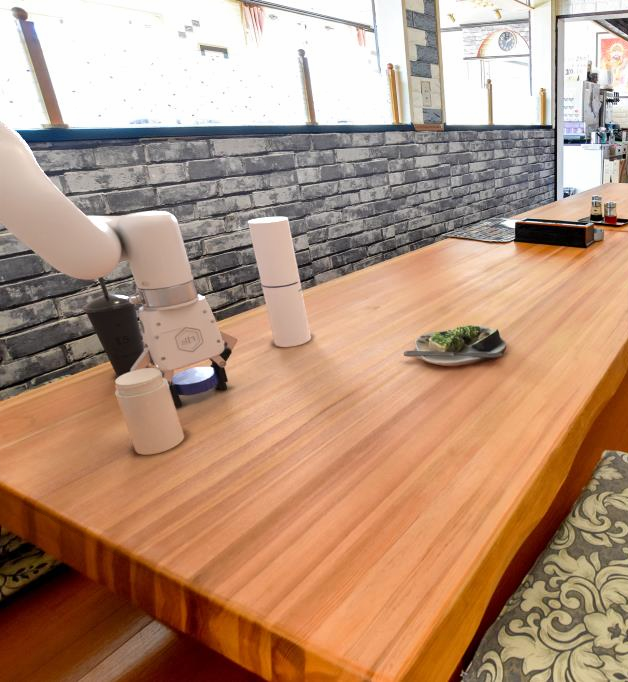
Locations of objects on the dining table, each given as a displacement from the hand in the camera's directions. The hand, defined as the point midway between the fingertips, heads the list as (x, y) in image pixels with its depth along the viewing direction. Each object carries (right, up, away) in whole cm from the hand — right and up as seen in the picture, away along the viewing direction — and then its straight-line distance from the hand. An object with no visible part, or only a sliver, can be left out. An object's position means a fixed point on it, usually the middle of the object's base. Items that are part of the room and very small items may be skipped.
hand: (199, 395), depth 89 cm
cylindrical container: (+7, +9, +22) cm, 25 cm away
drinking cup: (-18, +3, +10) cm, 21 cm away
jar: (+2, -5, -13) cm, 14 cm away
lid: (0, +3, -1) cm, 3 cm away
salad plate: (+43, +7, +14) cm, 46 cm away
